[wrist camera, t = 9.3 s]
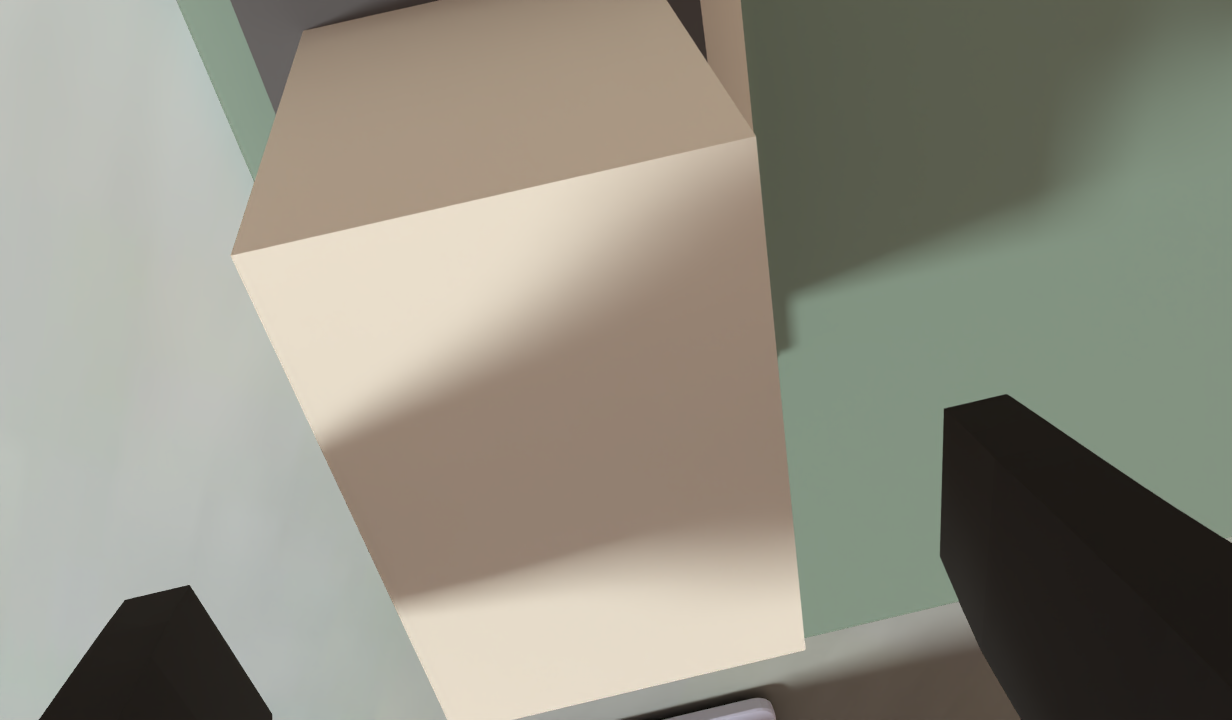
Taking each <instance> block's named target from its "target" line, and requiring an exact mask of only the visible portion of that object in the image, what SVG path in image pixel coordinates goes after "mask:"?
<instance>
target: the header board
mask: <svg viewBox="0 0 1232 720" xmlns="http://www.w3.org/2000/svg"><path fill="white" fill-rule="evenodd" d="M176 1H177V3H178V5H179V8H180V10H181V12H182V15H183V17H184V19H185V22H186V24H187V26H188V29H189V31H190V33H191V35H192V38H193V40H194V42H195V45H196V47H197V49H198V52H199V54H200V56H201V59H202V61H203V63H204V66H205V68H206V70H207V73H208V75H209V77H210V80H211V82H212V84H213V87H214V89H215V91H216V94H217V96H218V98H219V101H220V103H221V105H222V108H223V110H224V112H225V115H226V117H227V119H228V122H229V124H230V126H231V129H232V131H233V133H234V136H235V138H236V140H237V143H238V145H239V147H240V150H241V152H242V154H243V157H244V159H245V161H246V164H247V166H248V168H249V171H250V173H251V175H252V178H253V180H254V182H255V179H256V175H257V172H258V169H259V166H260V163H261V160H262V157H263V154H264V151H265V147H266V144H267V141H268V138H269V135H270V132H271V129H272V126H273V123H274V120H275V116H276V113H277V110H278V107H279V104H280V101H281V98H282V95H283V92H284V88H285V85H286V82H287V79H288V76H289V73H290V70H291V67H292V64H293V60H294V57H295V54H296V51H297V48H298V45H299V42H300V39H301V36H302V33H303V31H304V30H309V29H313V28H318V27H322V26H327V25H331V24H336V23H340V22H345V21H349V20H354V19H358V18H363V17H367V16H372V15H376V14H380V13H385V12H389V11H394V10H398V9H403V8H407V7H412V6H416V5H421V4H425V3H430V2H434V1H439V0H176ZM667 2H668V3H669V5H670V6H671V8H672V9H673V11H674V12H675V14H676V15H677V17H678V18H679V20H680V21H681V23H682V24H683V26H684V27H685V29H686V30H687V32H688V34H689V35H690V37H691V38H692V40H693V41H694V43H695V44H696V46H697V47H698V49H699V50H700V52H701V53H702V55H703V56H704V58H705V59H706V61H707V62H708V64H709V65H710V67H711V69H712V70H713V72H714V73H715V75H716V76H717V78H718V79H719V81H720V82H721V84H722V85H723V87H724V88H725V90H726V91H727V93H728V94H729V96H730V97H731V99H732V100H733V102H734V103H735V105H736V107H737V108H738V110H739V111H740V113H741V114H742V116H743V117H744V119H745V120H746V122H747V123H748V125H749V126H750V128H751V129H752V131H753V132H754V134H755V135H756V142H757V152H758V163H759V173H760V183H761V194H762V204H763V214H764V225H765V235H766V246H767V256H768V266H769V277H770V287H771V297H772V308H773V318H774V329H775V339H776V349H777V360H778V370H779V381H780V391H781V401H782V412H783V422H784V432H785V443H786V453H787V464H788V474H789V484H790V495H791V505H792V515H793V526H794V536H795V547H796V557H797V567H798V578H799V588H800V598H801V609H802V619H803V630H804V638H807V637H812V636H816V635H820V634H824V633H828V632H833V631H837V630H841V629H845V628H849V627H854V626H858V625H862V624H866V623H870V622H875V621H879V620H883V619H887V618H891V617H896V616H900V615H904V614H908V613H912V612H917V611H921V610H925V609H929V608H934V607H938V606H942V605H946V604H950V603H955V602H959V600H958V598H957V596H956V593H955V591H954V589H953V586H952V584H951V582H950V579H949V577H948V575H947V572H946V570H945V568H944V565H943V563H942V561H941V558H940V527H941V491H942V456H943V420H944V408H948V407H953V406H957V405H961V404H966V403H970V402H974V401H978V400H983V399H987V398H991V397H995V396H1000V395H1004V394H1008V395H1009V396H1011V397H1012V398H1014V399H1015V400H1017V401H1018V402H1020V403H1021V404H1023V405H1024V406H1026V407H1027V408H1029V409H1030V410H1032V411H1033V412H1035V413H1036V414H1037V415H1039V416H1040V417H1042V418H1043V419H1045V420H1046V421H1048V422H1049V423H1051V424H1052V425H1054V426H1055V427H1057V428H1058V429H1060V430H1061V431H1062V432H1064V433H1065V434H1067V435H1068V436H1070V437H1071V438H1073V439H1074V440H1076V441H1077V442H1079V443H1080V444H1081V445H1083V446H1084V447H1086V448H1087V449H1089V450H1090V451H1092V452H1093V453H1095V454H1096V455H1098V456H1099V457H1101V458H1102V459H1103V460H1105V461H1106V462H1108V463H1109V464H1111V465H1112V466H1114V467H1115V468H1117V469H1118V470H1120V471H1121V472H1123V473H1124V474H1126V475H1127V476H1129V477H1130V478H1132V479H1133V480H1135V481H1136V482H1138V483H1139V484H1141V485H1142V486H1144V487H1145V488H1147V489H1148V490H1150V491H1151V492H1153V493H1154V494H1156V495H1157V496H1159V497H1160V498H1162V499H1163V500H1165V501H1166V502H1168V503H1169V504H1171V505H1173V506H1174V507H1176V508H1177V509H1179V510H1180V511H1182V512H1184V513H1185V514H1187V515H1188V516H1190V517H1191V518H1193V519H1195V520H1196V521H1198V522H1199V523H1201V524H1203V525H1204V526H1206V527H1207V528H1209V529H1210V530H1212V531H1214V532H1215V533H1217V534H1218V535H1220V536H1221V537H1223V538H1228V537H1232V0H667Z"/></svg>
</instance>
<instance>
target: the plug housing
mask: <svg viewBox="0 0 1232 720" xmlns="http://www.w3.org/2000/svg"><path fill="white" fill-rule="evenodd" d="M231 258H232V260H233V262H234V264H235V266H236V268H237V270H238V273H239V275H240V277H241V279H242V281H243V283H244V285H245V288H246V290H247V292H248V294H249V296H250V298H251V300H252V303H253V305H254V307H255V309H256V311H257V313H258V315H259V318H260V320H261V322H262V324H263V326H264V328H265V330H266V333H267V335H268V337H269V339H270V341H271V343H272V345H273V347H274V350H275V352H276V354H277V356H278V358H279V360H280V362H281V365H282V367H283V369H284V371H285V373H286V375H287V377H288V380H289V382H290V384H291V386H292V388H293V390H294V392H295V395H296V397H297V399H298V401H299V403H300V405H301V407H302V410H303V412H304V414H305V416H306V418H307V420H308V422H309V424H310V427H311V429H312V431H313V433H314V435H315V437H316V439H317V442H318V444H319V446H320V448H321V450H322V452H323V454H324V457H325V459H326V461H327V463H328V465H329V467H330V469H331V472H332V474H333V476H334V478H335V480H336V482H337V484H338V487H339V489H340V491H341V493H342V495H343V497H344V499H345V501H346V504H347V506H348V508H349V510H350V512H351V514H352V516H353V519H354V521H355V523H356V525H357V527H358V529H359V531H360V534H361V536H362V538H363V540H364V542H365V544H366V546H367V549H368V551H369V553H370V555H371V557H372V559H373V561H374V564H375V566H376V568H377V570H378V572H379V574H380V576H381V579H382V581H383V583H384V585H385V587H386V589H387V591H388V593H389V596H390V598H391V600H392V602H393V604H394V606H395V608H396V611H397V613H398V615H399V617H400V619H401V621H402V623H403V626H404V628H405V630H406V632H407V634H408V636H409V638H410V641H411V643H412V645H413V647H414V649H415V651H416V653H417V656H418V658H419V660H420V662H421V664H422V666H423V668H424V670H425V673H426V675H427V677H428V679H429V681H430V683H431V685H432V688H433V690H434V692H435V694H436V696H437V698H438V700H439V703H440V705H441V707H442V709H443V711H444V713H445V715H446V718H447V720H513V719H517V718H522V717H526V716H530V715H534V714H538V713H543V712H547V711H551V710H555V709H559V708H564V707H568V706H572V705H576V704H580V703H585V702H589V701H593V700H597V699H601V698H606V697H610V696H614V695H618V694H622V693H627V692H631V691H635V690H639V689H643V688H648V687H652V686H656V685H660V684H664V683H669V682H673V681H677V680H681V679H686V678H690V677H694V676H698V675H702V674H707V673H711V672H715V671H719V670H723V669H728V668H732V667H736V666H740V665H744V664H749V663H753V662H757V661H761V660H765V659H770V658H774V657H778V656H782V655H786V654H791V653H795V652H799V651H803V650H805V640H804V630H803V619H802V609H801V598H800V588H799V578H798V567H797V557H796V547H795V536H794V526H793V515H792V505H791V495H790V484H789V474H788V464H787V453H786V443H785V432H784V422H783V412H782V401H781V391H780V381H779V370H778V360H777V349H776V339H775V329H774V318H773V308H772V297H771V287H770V277H769V266H768V256H767V246H766V235H765V225H764V214H763V204H762V194H761V183H760V173H759V163H758V152H757V142H756V135H755V134H754V132H753V131H752V129H751V128H750V126H749V125H748V123H747V122H746V120H745V119H744V117H743V116H742V114H741V113H740V111H739V110H738V108H737V107H736V105H735V103H734V102H733V100H732V99H731V97H730V96H729V94H728V93H727V91H726V90H725V88H724V87H723V85H722V84H721V82H720V81H719V79H718V78H717V76H716V75H715V73H714V72H713V70H712V69H711V67H710V65H709V64H708V62H707V61H706V59H705V58H704V56H703V55H702V53H701V52H700V50H699V49H698V47H697V46H696V44H695V43H694V41H693V40H692V38H691V37H690V35H689V34H688V32H687V30H686V29H685V27H684V26H683V24H682V23H681V21H680V20H679V18H678V17H677V15H676V14H675V12H674V11H673V9H672V8H671V6H670V5H669V3H668V2H667V0H439V1H434V2H430V3H425V4H421V5H416V6H412V7H407V8H403V9H398V10H394V11H389V12H385V13H380V14H376V15H372V16H367V17H363V18H358V19H354V20H349V21H345V22H340V23H336V24H331V25H327V26H322V27H318V28H313V29H309V30H304V31H303V33H302V36H301V39H300V42H299V45H298V48H297V51H296V54H295V57H294V60H293V64H292V67H291V70H290V73H289V76H288V79H287V82H286V85H285V88H284V92H283V95H282V98H281V101H280V104H279V107H278V110H277V113H276V116H275V120H274V123H273V126H272V129H271V132H270V135H269V138H268V141H267V144H266V147H265V151H264V154H263V157H262V160H261V163H260V166H259V169H258V172H257V175H256V179H255V182H254V185H253V188H252V191H251V194H250V197H249V200H248V203H247V206H246V210H245V213H244V216H243V219H242V222H241V225H240V228H239V231H238V234H237V238H236V241H235V244H234V247H233V250H232V253H231Z"/></svg>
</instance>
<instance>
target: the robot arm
mask: <svg viewBox="0 0 1232 720" xmlns="http://www.w3.org/2000/svg"><path fill="white" fill-rule="evenodd" d="M940 558H941V561H942V563H943V565H944V568H945V570H946V572H947V575H948V577H949V579H950V582H951V584H952V586H953V589H954V591H955V593H956V596H957V598H958V600H959V603H960V605H961V607H962V609H963V612H964V614H965V616H966V618H967V620H968V623H969V625H970V627H971V629H972V631H973V634H974V636H975V638H976V640H977V642H978V645H979V647H980V649H981V651H982V653H983V655H984V656H985V658H986V660H987V662H988V663H989V665H990V667H991V669H992V670H993V672H994V674H995V676H996V677H997V679H998V681H999V682H1000V684H1001V686H1002V687H1003V689H1004V691H1005V693H1006V694H1007V696H1008V698H1009V699H1010V701H1011V703H1012V705H1013V706H1014V708H1015V710H1016V711H1017V713H1018V715H1019V716H1020V718H1021V720H1232V543H1231V542H1229V541H1228V540H1226V539H1225V538H1223V537H1221V536H1220V535H1218V534H1217V533H1215V532H1214V531H1212V530H1210V529H1209V528H1207V527H1206V526H1204V525H1203V524H1201V523H1199V522H1198V521H1196V520H1195V519H1193V518H1191V517H1190V516H1188V515H1187V514H1185V513H1184V512H1182V511H1180V510H1179V509H1177V508H1176V507H1174V506H1173V505H1171V504H1169V503H1168V502H1166V501H1165V500H1163V499H1162V498H1160V497H1159V496H1157V495H1156V494H1154V493H1153V492H1151V491H1150V490H1148V489H1147V488H1145V487H1144V486H1142V485H1141V484H1139V483H1138V482H1136V481H1135V480H1133V479H1132V478H1130V477H1129V476H1127V475H1126V474H1124V473H1123V472H1121V471H1120V470H1118V469H1117V468H1115V467H1114V466H1112V465H1111V464H1109V463H1108V462H1106V461H1105V460H1103V459H1102V458H1101V457H1099V456H1098V455H1096V454H1095V453H1093V452H1092V451H1090V450H1089V449H1087V448H1086V447H1084V446H1083V445H1081V444H1080V443H1079V442H1077V441H1076V440H1074V439H1073V438H1071V437H1070V436H1068V435H1067V434H1065V433H1064V432H1062V431H1061V430H1060V429H1058V428H1057V427H1055V426H1054V425H1052V424H1051V423H1049V422H1048V421H1046V420H1045V419H1043V418H1042V417H1040V416H1039V415H1037V414H1036V413H1035V412H1033V411H1032V410H1030V409H1029V408H1027V407H1026V406H1024V405H1023V404H1021V403H1020V402H1018V401H1017V400H1015V399H1014V398H1012V397H1011V396H1009V395H1008V394H1004V395H1000V396H995V397H991V398H987V399H983V400H978V401H974V402H970V403H966V404H961V405H957V406H953V407H948V408H944V420H943V456H942V491H941V527H940ZM39 720H272V713H271V712H270V710H269V708H268V707H267V705H266V704H265V702H264V701H263V699H262V697H261V696H260V694H259V693H258V691H257V690H256V688H255V687H254V685H253V683H252V682H251V680H250V679H249V677H248V676H247V674H246V672H245V671H244V669H243V668H242V666H241V665H240V663H239V662H238V660H237V658H236V657H235V655H234V654H233V652H232V651H231V649H230V647H229V646H228V644H227V643H226V641H225V640H224V638H223V637H222V635H221V633H220V632H219V630H218V629H217V627H216V626H215V624H214V622H213V621H212V619H211V618H210V616H209V615H208V613H207V612H206V610H205V608H204V607H203V605H202V604H201V602H200V601H199V599H198V597H197V596H196V594H195V593H194V591H193V590H192V588H191V587H190V585H187V586H183V587H179V588H174V589H170V590H166V591H162V592H157V593H153V594H149V595H144V596H140V597H136V598H132V599H127V600H125V601H124V602H123V603H122V605H121V606H120V607H119V609H118V610H117V611H116V613H115V614H114V615H113V617H112V618H111V619H110V621H109V622H108V623H107V625H106V626H105V627H104V629H103V630H102V632H101V633H100V634H99V636H98V637H97V638H96V640H95V641H94V643H93V644H92V645H91V647H90V648H89V650H88V651H87V652H86V654H85V655H84V657H83V658H82V659H81V661H80V662H79V664H78V665H77V667H76V668H75V669H74V671H73V672H72V674H71V675H70V676H69V678H68V679H67V681H66V682H65V684H64V685H63V686H62V688H61V689H60V691H59V692H58V693H57V695H56V696H55V698H54V699H53V701H52V702H51V703H50V705H49V706H48V708H47V709H46V710H45V712H44V713H43V715H42V716H41V718H40V719H39ZM663 720H776V716H775V712H774V709H773V706H772V704H771V702H770V701H768V700H767V699H764V698H751V699H747V700H743V701H739V702H735V703H730V704H726V705H722V706H718V707H714V708H709V709H705V710H701V711H697V712H693V713H688V714H684V715H680V716H676V717H672V718H668V719H663Z"/></svg>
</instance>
